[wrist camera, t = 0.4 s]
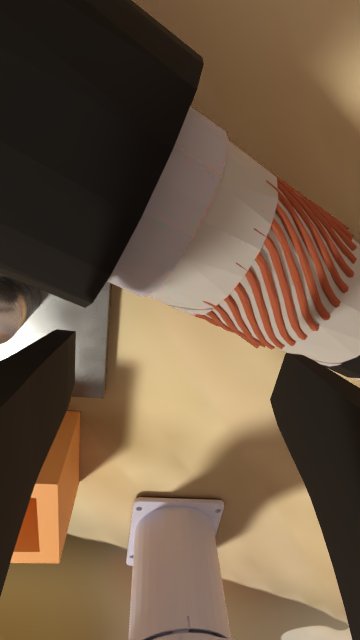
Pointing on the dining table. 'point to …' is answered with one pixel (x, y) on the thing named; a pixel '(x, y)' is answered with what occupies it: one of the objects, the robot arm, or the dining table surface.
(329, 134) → the dining table surface
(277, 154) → the dining table surface
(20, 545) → the orange hollow block
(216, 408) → the dining table surface
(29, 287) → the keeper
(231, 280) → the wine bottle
